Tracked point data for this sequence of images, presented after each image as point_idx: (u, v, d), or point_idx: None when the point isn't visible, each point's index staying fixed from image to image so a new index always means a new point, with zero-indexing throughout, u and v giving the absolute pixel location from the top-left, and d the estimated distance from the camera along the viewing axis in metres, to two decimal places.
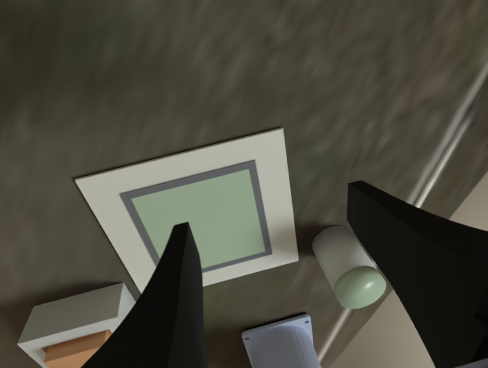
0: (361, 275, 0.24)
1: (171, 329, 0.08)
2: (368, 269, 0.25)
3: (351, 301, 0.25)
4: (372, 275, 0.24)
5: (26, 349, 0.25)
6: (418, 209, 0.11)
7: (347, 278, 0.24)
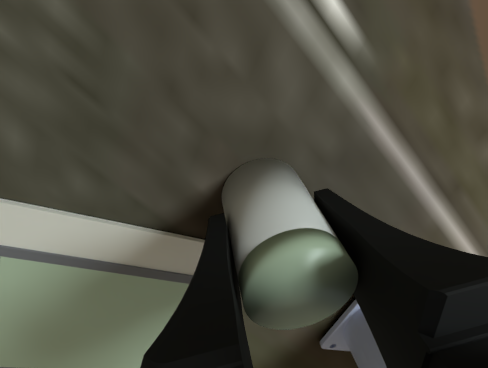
0: (247, 282, 0.10)
1: (232, 313, 0.08)
2: (257, 257, 0.10)
3: (307, 312, 0.11)
4: (264, 268, 0.10)
5: None
6: (376, 220, 0.11)
7: None
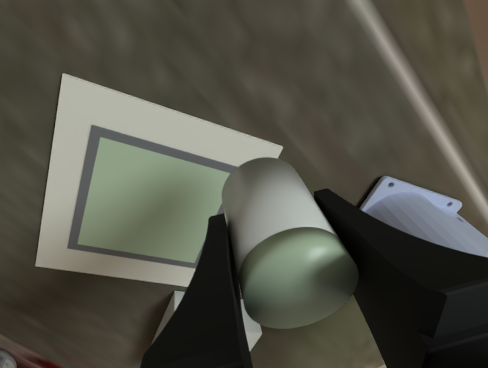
0: (247, 280, 0.10)
1: (232, 313, 0.08)
2: (258, 256, 0.10)
3: (307, 311, 0.11)
4: (264, 266, 0.10)
5: None
6: (376, 220, 0.11)
7: None
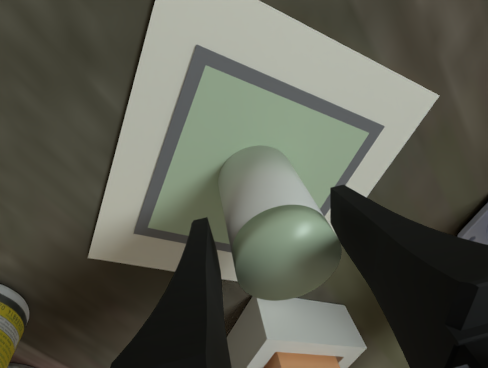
0: (239, 252, 0.11)
1: (203, 321, 0.08)
2: (249, 230, 0.11)
3: (294, 284, 0.12)
4: (254, 238, 0.11)
5: None
6: (396, 215, 0.11)
7: None
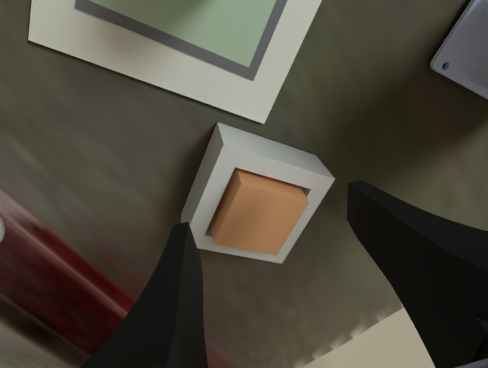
0: None
1: (171, 329, 0.08)
2: None
3: None
4: None
5: None
6: (418, 209, 0.11)
7: None
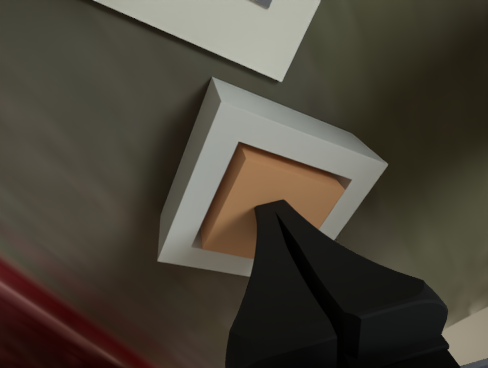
0: None
1: (308, 293, 0.08)
2: None
3: None
4: None
5: (178, 260, 0.15)
6: (320, 233, 0.10)
7: None
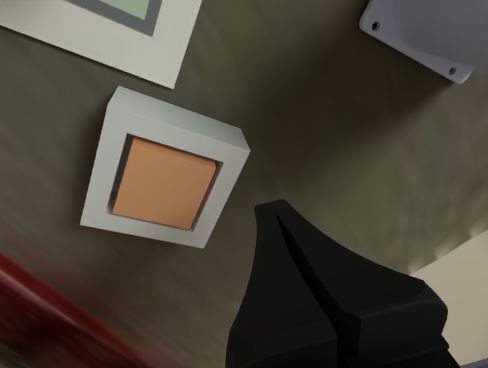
0: None
1: (308, 293, 0.08)
2: None
3: None
4: None
5: (97, 224, 0.19)
6: (320, 233, 0.10)
7: None
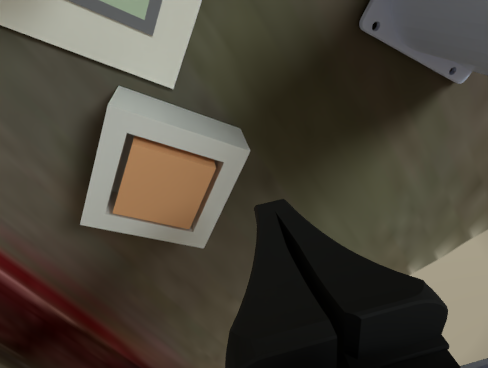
0: None
1: (308, 293, 0.08)
2: None
3: None
4: None
5: (97, 224, 0.19)
6: (320, 233, 0.10)
7: None
